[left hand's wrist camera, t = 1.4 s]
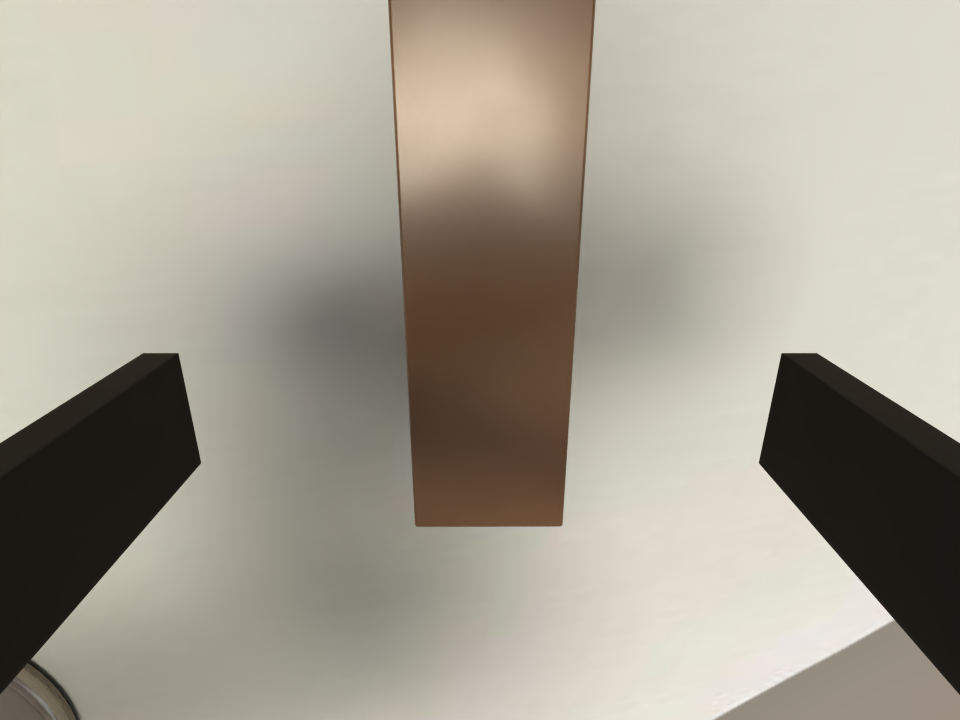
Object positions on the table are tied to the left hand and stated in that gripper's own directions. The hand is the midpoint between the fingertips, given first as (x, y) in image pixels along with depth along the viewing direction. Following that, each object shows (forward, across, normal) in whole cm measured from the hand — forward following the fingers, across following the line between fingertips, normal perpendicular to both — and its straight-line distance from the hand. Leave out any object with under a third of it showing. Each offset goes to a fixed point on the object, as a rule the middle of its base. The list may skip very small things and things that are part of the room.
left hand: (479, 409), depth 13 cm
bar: (+14, 0, -19) cm, 23 cm away
